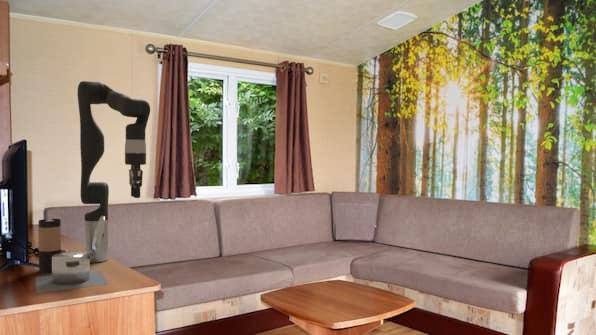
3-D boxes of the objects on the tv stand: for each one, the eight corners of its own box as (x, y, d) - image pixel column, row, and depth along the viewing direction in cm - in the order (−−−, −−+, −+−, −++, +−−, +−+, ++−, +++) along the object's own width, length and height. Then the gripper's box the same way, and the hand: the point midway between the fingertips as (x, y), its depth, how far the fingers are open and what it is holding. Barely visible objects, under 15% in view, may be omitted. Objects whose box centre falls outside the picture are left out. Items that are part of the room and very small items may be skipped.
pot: (51, 277, 170) (50, 252, 170) (89, 273, 177) (89, 249, 177) (53, 288, 156) (52, 261, 156) (94, 283, 163) (94, 257, 162)
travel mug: (51, 275, 175) (51, 221, 175) (33, 273, 177) (33, 221, 176) (65, 270, 183) (65, 219, 182) (48, 269, 184) (48, 218, 184)
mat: (35, 278, 170) (35, 277, 170) (100, 271, 181) (100, 270, 181) (35, 294, 151) (35, 292, 151) (108, 285, 162) (108, 284, 162)
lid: (98, 213, 176) (105, 214, 177) (87, 250, 175) (94, 251, 176) (103, 217, 165) (110, 219, 166) (92, 257, 163) (99, 258, 165)
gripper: (121, 151, 180) (121, 196, 181) (128, 151, 168) (128, 199, 168) (141, 152, 184) (141, 195, 184) (150, 152, 172) (150, 198, 172)
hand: (135, 197), depth 176 cm, fingers open, 5 cm apart
